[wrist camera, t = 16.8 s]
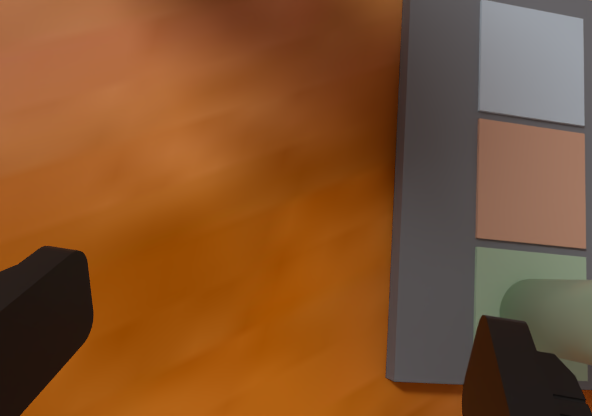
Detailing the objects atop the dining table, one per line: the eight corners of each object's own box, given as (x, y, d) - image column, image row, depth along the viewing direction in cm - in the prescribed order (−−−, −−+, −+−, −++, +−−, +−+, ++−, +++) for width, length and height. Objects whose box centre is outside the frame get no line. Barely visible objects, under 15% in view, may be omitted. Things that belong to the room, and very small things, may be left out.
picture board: (403, -25, 32) (413, -38, 31) (626, 19, 35) (643, 9, 34) (385, 377, 29) (395, 382, 27) (635, 388, 32) (655, 393, 30)
